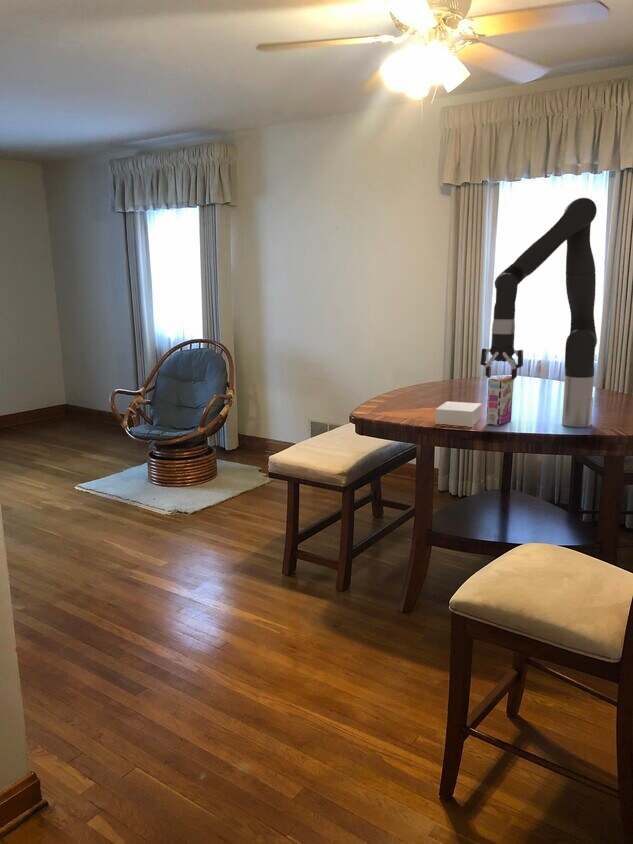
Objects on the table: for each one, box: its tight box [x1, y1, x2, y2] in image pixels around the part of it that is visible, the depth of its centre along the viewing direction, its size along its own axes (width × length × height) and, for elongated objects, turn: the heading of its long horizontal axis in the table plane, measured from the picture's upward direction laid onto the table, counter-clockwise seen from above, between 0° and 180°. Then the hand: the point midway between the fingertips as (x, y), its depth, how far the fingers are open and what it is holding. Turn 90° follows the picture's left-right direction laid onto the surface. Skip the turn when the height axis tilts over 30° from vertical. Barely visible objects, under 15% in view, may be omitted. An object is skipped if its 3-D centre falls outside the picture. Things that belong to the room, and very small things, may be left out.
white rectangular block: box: [435, 400, 483, 428], centre depth 236 cm, size 13×15×6 cm
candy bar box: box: [485, 375, 515, 427], centre depth 232 cm, size 11×5×16 cm, turn 141°
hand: (500, 378), depth 230 cm, fingers open, 8 cm apart
